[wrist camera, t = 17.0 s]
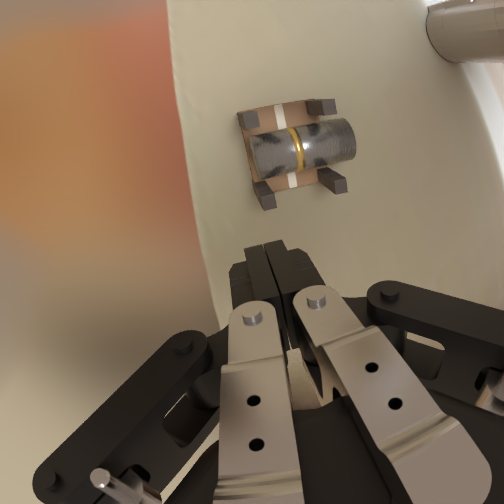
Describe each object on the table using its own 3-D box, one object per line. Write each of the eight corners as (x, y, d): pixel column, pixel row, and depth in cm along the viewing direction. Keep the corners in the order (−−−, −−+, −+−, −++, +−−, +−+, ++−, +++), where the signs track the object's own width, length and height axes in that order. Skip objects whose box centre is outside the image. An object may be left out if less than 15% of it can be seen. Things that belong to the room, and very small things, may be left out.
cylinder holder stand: (237, 112, 34) (242, 112, 28) (312, 98, 34) (334, 97, 28) (255, 193, 39) (263, 211, 32) (325, 177, 39) (347, 192, 32)
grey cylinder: (333, 117, 34) (351, 117, 30) (341, 157, 36) (359, 162, 32) (246, 135, 34) (252, 136, 29) (256, 176, 36) (263, 184, 32)
